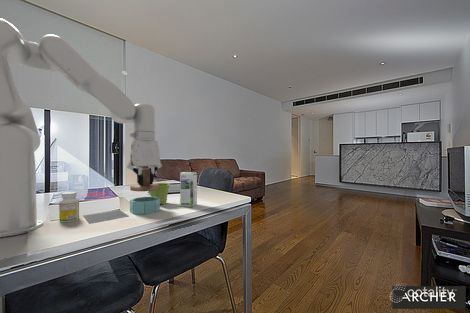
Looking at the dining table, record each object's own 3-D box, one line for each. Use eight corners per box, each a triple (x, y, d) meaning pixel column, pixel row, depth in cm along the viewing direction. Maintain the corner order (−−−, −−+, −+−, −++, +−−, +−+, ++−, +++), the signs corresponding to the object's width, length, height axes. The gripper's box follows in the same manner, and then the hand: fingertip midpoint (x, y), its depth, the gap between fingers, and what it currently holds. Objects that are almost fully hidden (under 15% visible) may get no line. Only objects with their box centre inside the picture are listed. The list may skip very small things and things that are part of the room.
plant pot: (173, 201, 104) (173, 183, 104) (165, 206, 95) (164, 186, 95) (154, 201, 105) (154, 182, 105) (144, 205, 96) (143, 185, 96)
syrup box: (179, 206, 94) (179, 172, 94) (185, 203, 100) (185, 171, 100) (192, 207, 93) (192, 172, 93) (197, 204, 99) (197, 171, 99)
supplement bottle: (71, 223, 72) (71, 194, 72) (55, 223, 72) (54, 194, 72) (83, 218, 78) (82, 191, 77) (67, 218, 78) (67, 191, 77)
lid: (135, 192, 79) (135, 171, 79) (126, 188, 87) (126, 168, 86) (163, 189, 86) (163, 169, 86) (152, 185, 94) (152, 167, 93)
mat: (89, 225, 70) (89, 223, 70) (82, 217, 79) (82, 215, 79) (129, 217, 78) (129, 216, 78) (119, 211, 87) (119, 209, 87)
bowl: (136, 217, 79) (136, 203, 79) (127, 211, 86) (127, 199, 86) (163, 212, 86) (163, 199, 86) (152, 207, 93) (152, 195, 93)
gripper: (124, 135, 77) (126, 188, 78) (169, 137, 88) (169, 183, 89) (118, 136, 83) (119, 185, 83) (160, 138, 94) (161, 181, 94)
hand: (145, 184), depth 86 cm, fingers closed on lid, 3 cm apart
